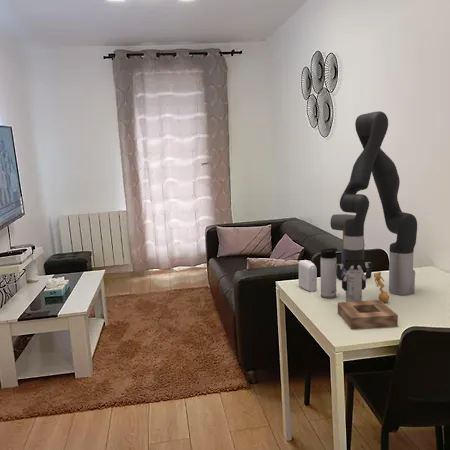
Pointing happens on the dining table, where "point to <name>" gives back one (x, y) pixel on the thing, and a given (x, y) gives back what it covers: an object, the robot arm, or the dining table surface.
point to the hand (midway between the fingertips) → (353, 289)
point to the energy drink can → (354, 286)
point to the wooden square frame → (367, 314)
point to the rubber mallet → (339, 224)
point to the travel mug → (328, 273)
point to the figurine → (383, 295)
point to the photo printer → (307, 275)
